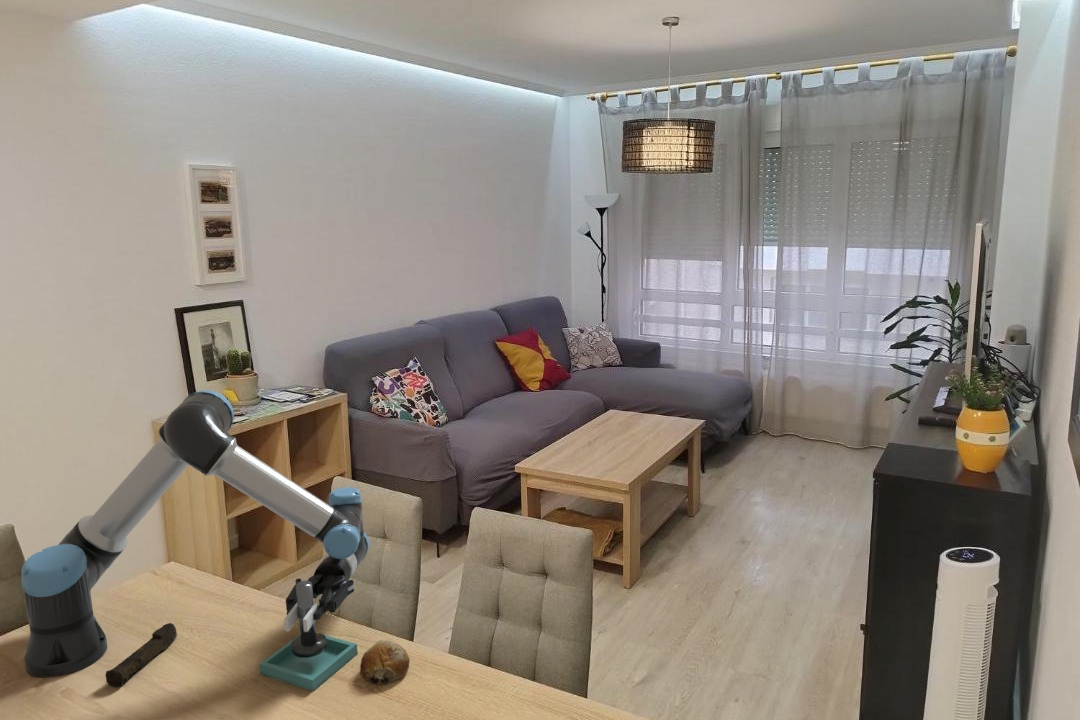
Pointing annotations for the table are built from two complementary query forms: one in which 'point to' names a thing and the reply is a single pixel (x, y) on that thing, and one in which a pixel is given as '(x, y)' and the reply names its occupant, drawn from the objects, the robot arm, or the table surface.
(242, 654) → the table surface
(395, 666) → the bread roll
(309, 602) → the joystick
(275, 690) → the table surface
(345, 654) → the tray
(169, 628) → the hand tool
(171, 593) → the table surface
